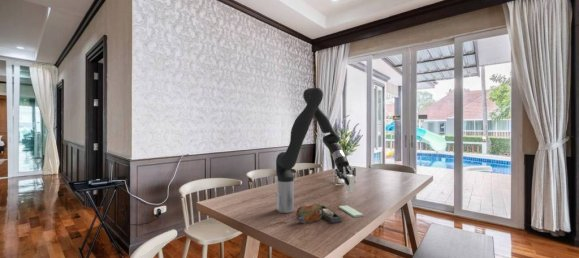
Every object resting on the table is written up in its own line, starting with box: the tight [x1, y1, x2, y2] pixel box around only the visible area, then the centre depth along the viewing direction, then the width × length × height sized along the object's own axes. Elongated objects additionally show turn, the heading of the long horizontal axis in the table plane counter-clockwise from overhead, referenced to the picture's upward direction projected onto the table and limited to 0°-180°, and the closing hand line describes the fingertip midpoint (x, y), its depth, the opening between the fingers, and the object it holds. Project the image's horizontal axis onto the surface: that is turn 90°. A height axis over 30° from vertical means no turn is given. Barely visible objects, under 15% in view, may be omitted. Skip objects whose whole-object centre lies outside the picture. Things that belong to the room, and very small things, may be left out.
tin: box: [295, 203, 323, 225], centre depth 125 cm, size 15×3×8 cm, turn 118°
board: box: [338, 205, 364, 218], centre depth 139 cm, size 6×16×1 cm, turn 18°
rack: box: [321, 204, 342, 224], centre depth 132 cm, size 6×20×2 cm, turn 18°
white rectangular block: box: [343, 174, 356, 193], centre depth 138 cm, size 3×6×8 cm, turn 18°
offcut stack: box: [323, 208, 335, 217], centre depth 132 cm, size 3×10×3 cm, turn 15°
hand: (351, 184), depth 136 cm, fingers closed on white rectangular block, 3 cm apart
